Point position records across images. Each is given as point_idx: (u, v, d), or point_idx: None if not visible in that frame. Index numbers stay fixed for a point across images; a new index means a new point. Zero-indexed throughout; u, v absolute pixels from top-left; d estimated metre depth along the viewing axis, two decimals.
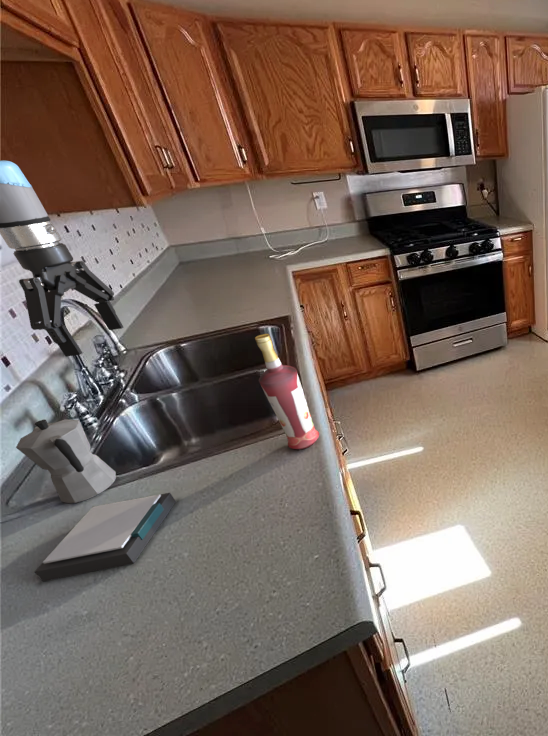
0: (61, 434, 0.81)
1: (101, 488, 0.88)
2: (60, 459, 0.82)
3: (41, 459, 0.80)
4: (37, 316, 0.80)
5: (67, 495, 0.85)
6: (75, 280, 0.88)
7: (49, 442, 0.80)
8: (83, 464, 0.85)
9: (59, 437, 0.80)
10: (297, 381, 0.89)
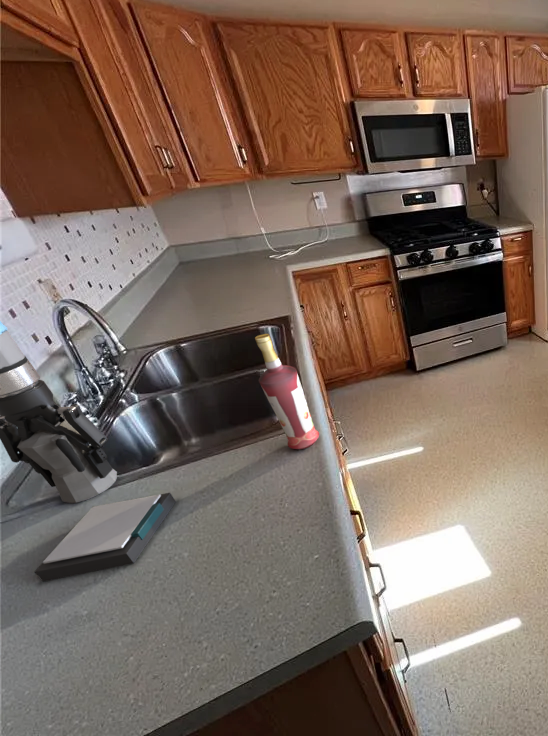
0: None
1: (102, 488, 0.88)
2: (61, 459, 0.82)
3: (42, 459, 0.80)
4: (98, 434, 0.84)
5: (68, 494, 0.85)
6: None
7: (50, 442, 0.80)
8: (84, 464, 0.86)
9: (60, 437, 0.80)
10: (297, 381, 0.89)
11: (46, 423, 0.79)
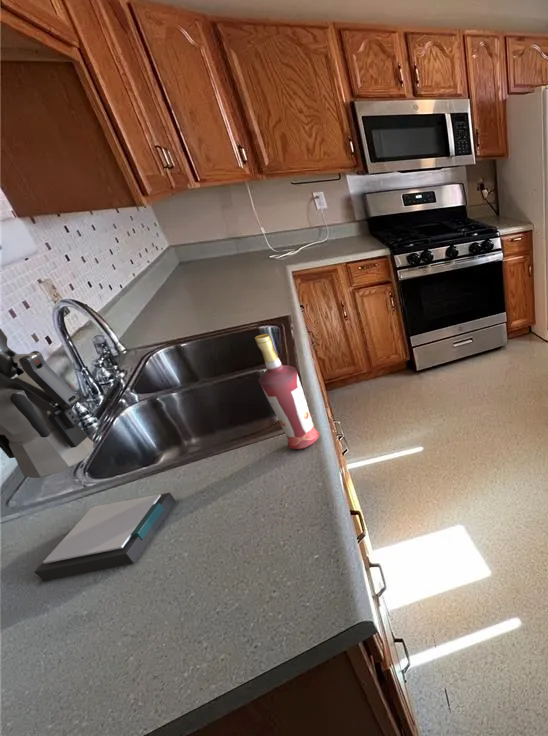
0: None
1: (74, 460, 0.71)
2: (19, 421, 0.65)
3: None
4: (67, 391, 0.67)
5: (30, 467, 0.68)
6: None
7: (4, 398, 0.63)
8: (50, 429, 0.69)
9: (17, 392, 0.63)
10: (297, 381, 0.89)
11: None
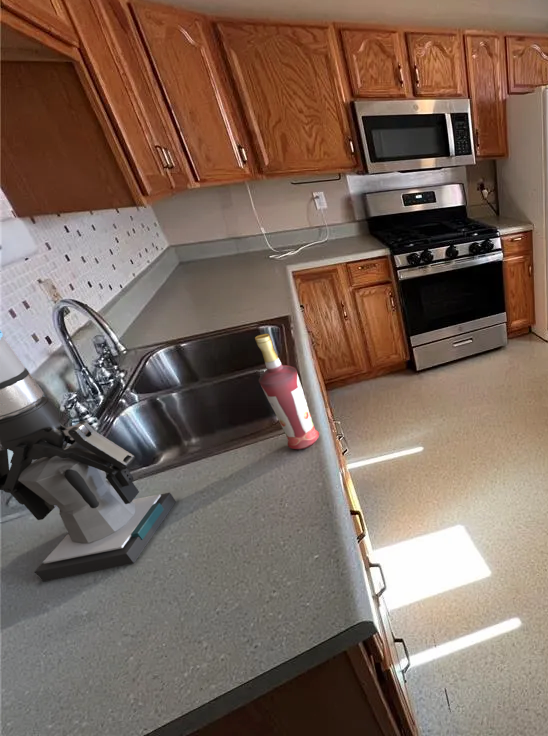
0: (72, 463, 0.68)
1: (119, 525, 0.74)
2: (70, 493, 0.68)
3: (48, 493, 0.67)
4: (120, 452, 0.70)
5: (79, 534, 0.71)
6: None
7: (58, 473, 0.66)
8: (98, 497, 0.72)
9: (70, 467, 0.66)
10: (297, 381, 0.89)
11: (51, 447, 0.65)
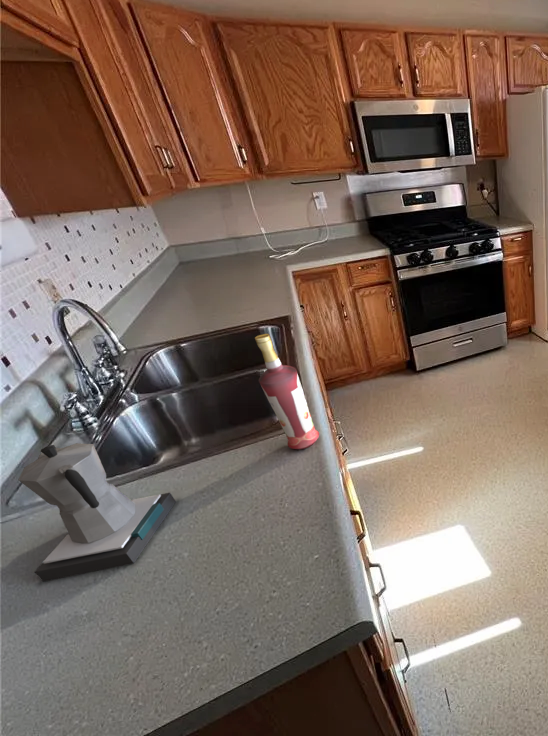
0: (72, 463, 0.68)
1: (119, 525, 0.74)
2: (70, 493, 0.68)
3: (48, 493, 0.67)
4: None
5: (79, 534, 0.71)
6: None
7: (58, 473, 0.66)
8: (98, 497, 0.72)
9: (70, 467, 0.66)
10: (297, 381, 0.89)
11: None
